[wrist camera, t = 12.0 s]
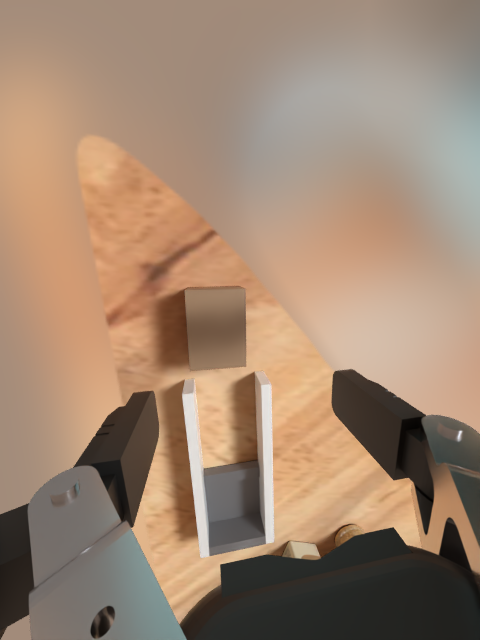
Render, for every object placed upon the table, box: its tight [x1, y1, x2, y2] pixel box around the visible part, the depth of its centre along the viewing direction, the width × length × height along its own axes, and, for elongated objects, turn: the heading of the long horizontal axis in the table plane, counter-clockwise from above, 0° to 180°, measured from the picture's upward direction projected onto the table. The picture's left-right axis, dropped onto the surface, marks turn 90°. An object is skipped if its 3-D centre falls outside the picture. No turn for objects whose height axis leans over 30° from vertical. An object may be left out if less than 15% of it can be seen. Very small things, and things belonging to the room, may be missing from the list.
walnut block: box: [184, 286, 246, 371], centre depth 21 cm, size 7×5×4 cm
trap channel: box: [182, 371, 274, 558], centre depth 25 cm, size 20×8×3 cm, turn 3°
